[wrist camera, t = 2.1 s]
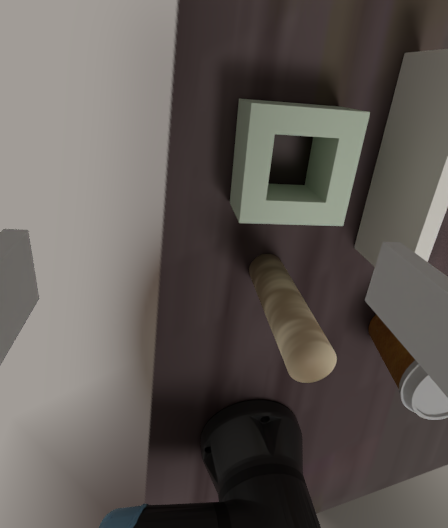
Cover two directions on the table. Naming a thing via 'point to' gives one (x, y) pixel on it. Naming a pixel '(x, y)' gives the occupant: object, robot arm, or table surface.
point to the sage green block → (319, 167)
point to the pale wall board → (411, 162)
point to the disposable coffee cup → (408, 375)
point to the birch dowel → (291, 321)
